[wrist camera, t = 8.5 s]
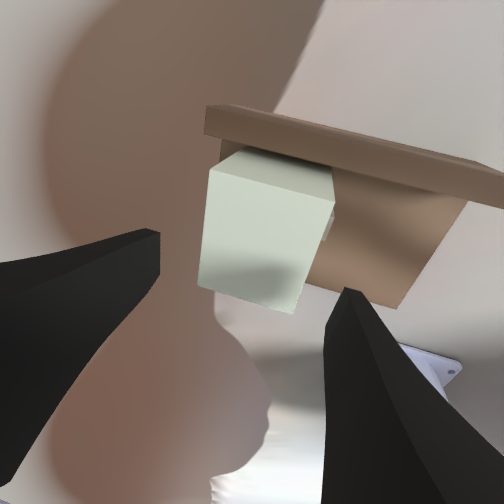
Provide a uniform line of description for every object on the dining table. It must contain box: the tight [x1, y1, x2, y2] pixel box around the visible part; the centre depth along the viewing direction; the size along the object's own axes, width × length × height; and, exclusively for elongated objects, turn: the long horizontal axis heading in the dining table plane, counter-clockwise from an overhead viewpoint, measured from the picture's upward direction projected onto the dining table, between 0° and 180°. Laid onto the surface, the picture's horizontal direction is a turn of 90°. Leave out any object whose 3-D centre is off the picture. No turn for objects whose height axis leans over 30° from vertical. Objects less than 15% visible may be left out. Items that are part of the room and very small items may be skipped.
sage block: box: [198, 146, 335, 315], centre depth 14 cm, size 6×5×6 cm
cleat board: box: [204, 104, 504, 309], centre depth 16 cm, size 10×14×4 cm
